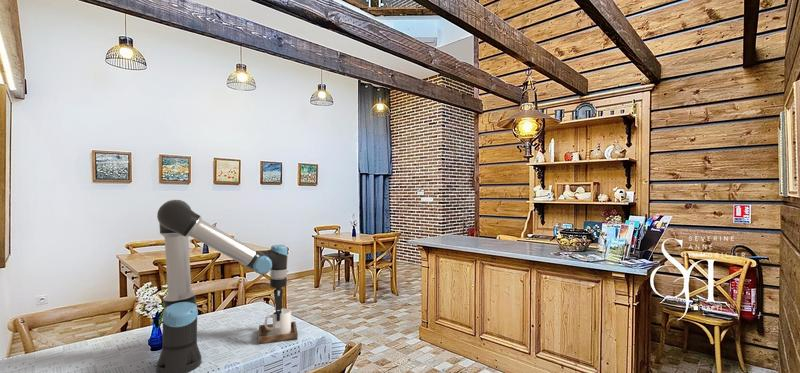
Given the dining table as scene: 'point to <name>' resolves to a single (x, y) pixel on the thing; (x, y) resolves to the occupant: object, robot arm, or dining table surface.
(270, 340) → the tray
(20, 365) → the dining table surface
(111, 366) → the dining table surface
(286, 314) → the cup
